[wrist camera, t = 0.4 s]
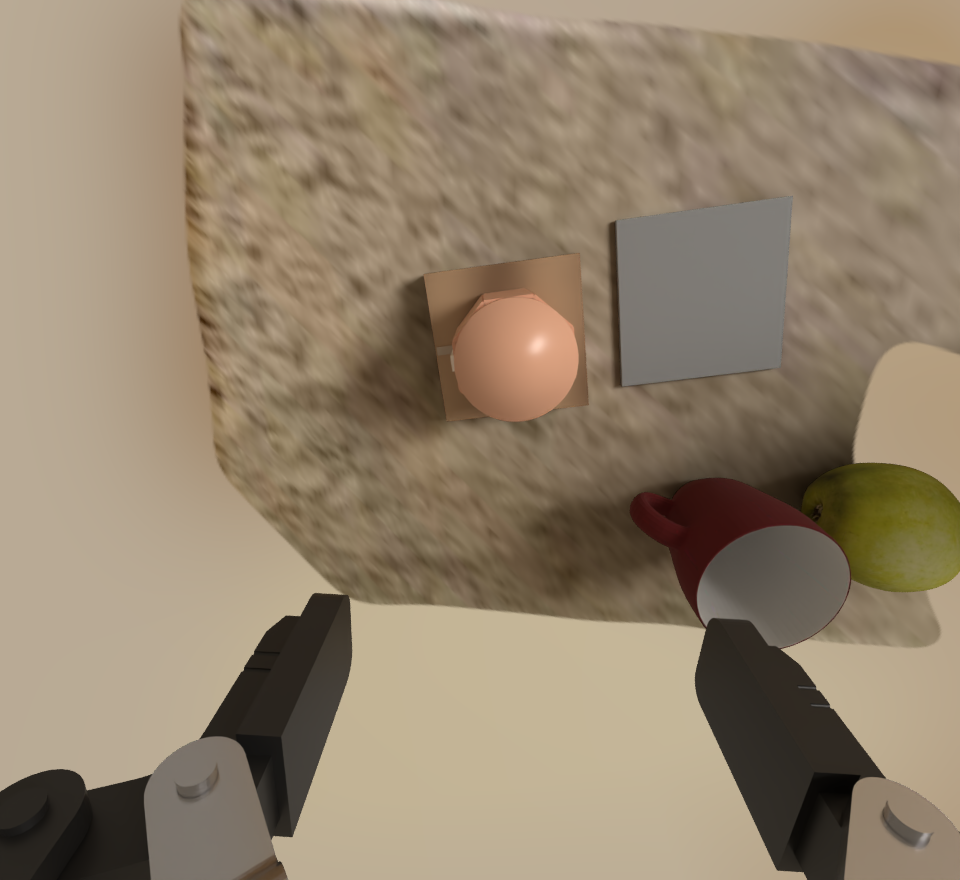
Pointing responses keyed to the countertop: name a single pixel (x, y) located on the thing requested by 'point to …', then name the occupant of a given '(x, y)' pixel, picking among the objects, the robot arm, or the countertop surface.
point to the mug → (748, 558)
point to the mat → (702, 291)
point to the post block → (464, 287)
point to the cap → (514, 356)
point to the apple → (889, 524)
